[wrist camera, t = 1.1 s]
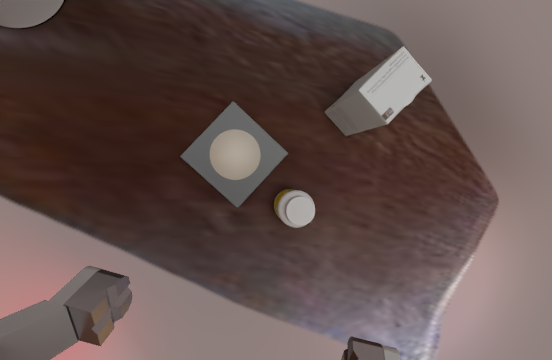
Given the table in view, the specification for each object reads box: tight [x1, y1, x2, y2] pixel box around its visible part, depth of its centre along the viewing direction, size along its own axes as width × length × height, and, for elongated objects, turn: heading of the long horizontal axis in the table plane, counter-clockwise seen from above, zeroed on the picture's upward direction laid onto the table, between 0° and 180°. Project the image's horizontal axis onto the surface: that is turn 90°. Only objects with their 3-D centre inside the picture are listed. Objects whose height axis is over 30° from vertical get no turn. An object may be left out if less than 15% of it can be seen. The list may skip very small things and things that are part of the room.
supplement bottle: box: [274, 189, 315, 228], centre depth 44 cm, size 5×5×10 cm
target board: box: [180, 102, 288, 208], centre depth 47 cm, size 12×12×1 cm
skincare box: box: [324, 47, 432, 136], centre depth 42 cm, size 8×6×15 cm
